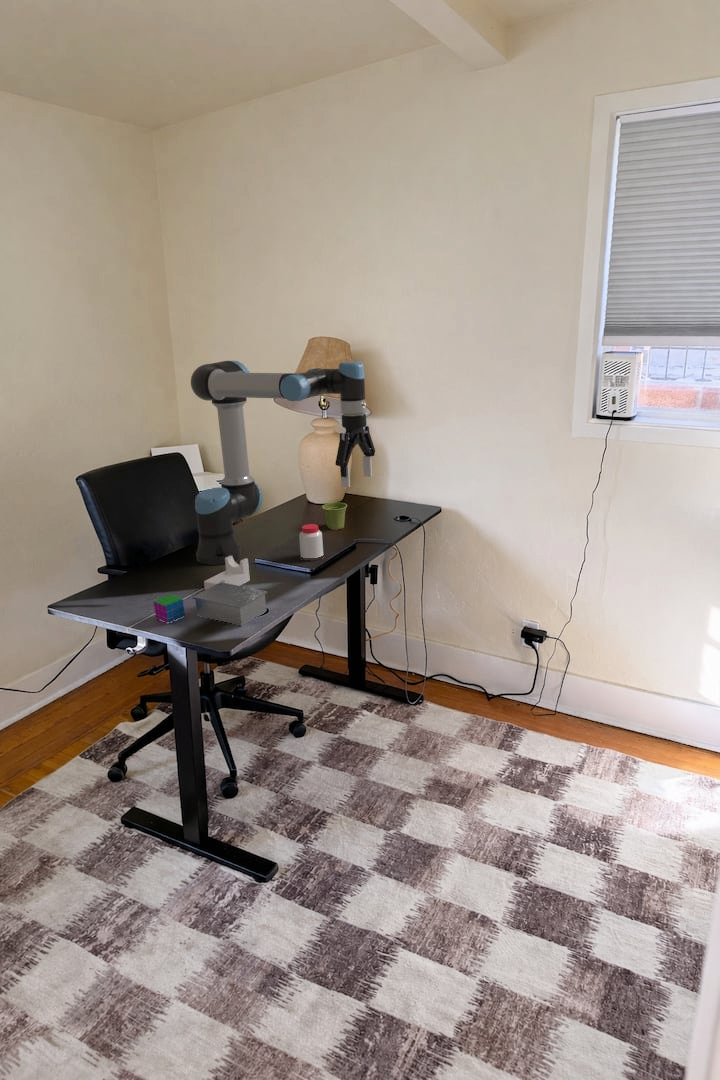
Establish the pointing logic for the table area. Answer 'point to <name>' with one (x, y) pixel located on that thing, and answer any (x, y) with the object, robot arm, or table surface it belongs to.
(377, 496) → the table surface
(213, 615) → the gray rectangular block
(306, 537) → the pill bottle
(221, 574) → the bracket
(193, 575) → the table surface
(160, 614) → the puzzle toy
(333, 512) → the plant pot
